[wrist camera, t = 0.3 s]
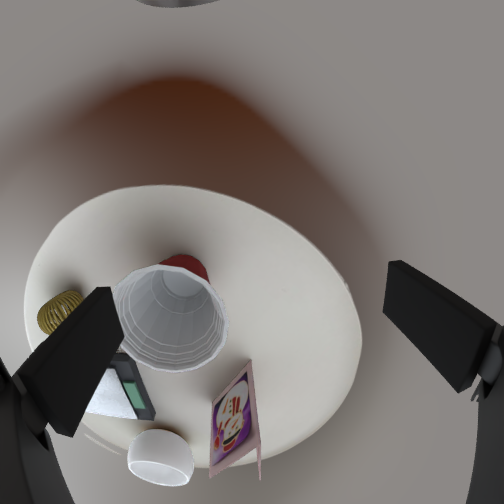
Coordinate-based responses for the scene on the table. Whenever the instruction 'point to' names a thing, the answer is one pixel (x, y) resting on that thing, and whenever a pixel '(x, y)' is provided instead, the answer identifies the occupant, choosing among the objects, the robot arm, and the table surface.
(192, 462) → the cup
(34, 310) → the table surface
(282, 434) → the table surface
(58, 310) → the sculpture
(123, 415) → the scale
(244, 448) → the greeting card
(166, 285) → the plastic cup
